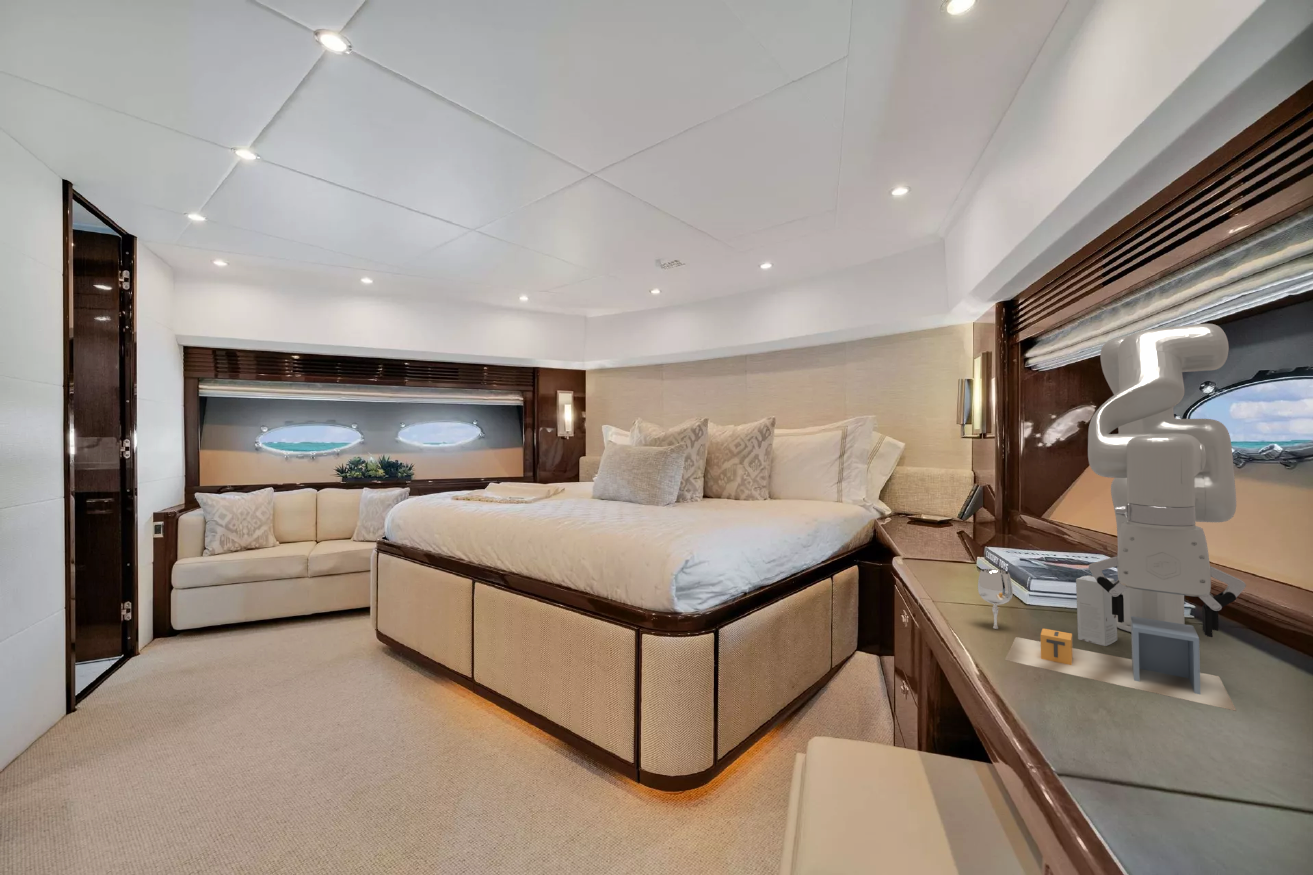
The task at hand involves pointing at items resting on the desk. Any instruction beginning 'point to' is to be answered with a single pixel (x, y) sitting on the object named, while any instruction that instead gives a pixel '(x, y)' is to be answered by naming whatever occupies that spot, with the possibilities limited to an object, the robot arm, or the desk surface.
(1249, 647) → the desk surface
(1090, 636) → the skincare box
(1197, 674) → the grey open-front cubby
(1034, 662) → the board
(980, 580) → the wineglass
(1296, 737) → the desk surface
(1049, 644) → the letter cube
